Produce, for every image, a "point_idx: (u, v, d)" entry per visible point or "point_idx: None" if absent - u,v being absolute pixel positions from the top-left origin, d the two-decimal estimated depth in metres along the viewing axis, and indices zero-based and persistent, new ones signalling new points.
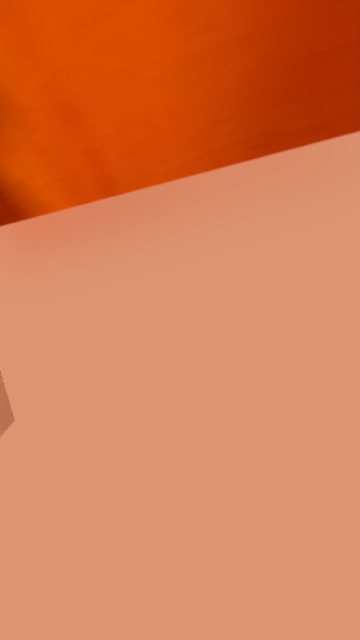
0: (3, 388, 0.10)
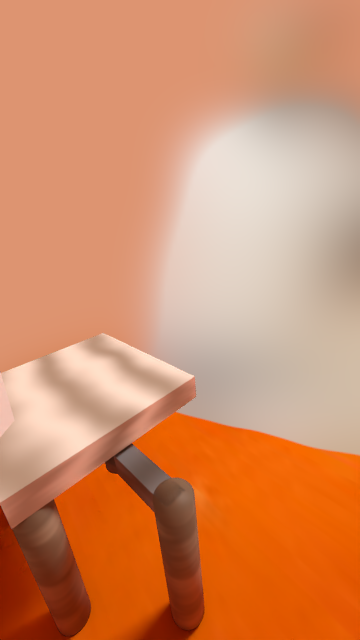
0: (3, 388, 0.10)
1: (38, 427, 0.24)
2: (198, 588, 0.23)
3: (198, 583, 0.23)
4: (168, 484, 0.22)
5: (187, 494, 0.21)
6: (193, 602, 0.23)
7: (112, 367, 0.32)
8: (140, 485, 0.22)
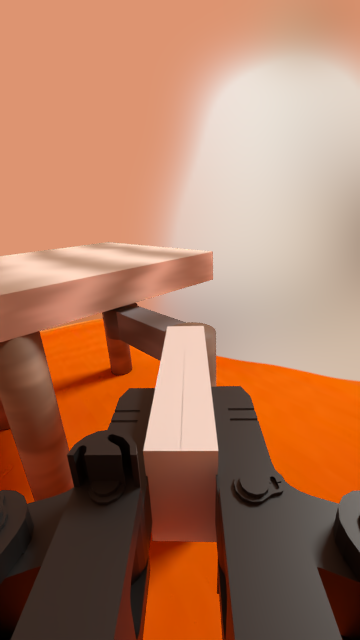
0: None
1: (28, 273, 0.20)
2: None
3: None
4: None
5: (207, 330, 0.17)
6: None
7: (117, 251, 0.28)
8: (148, 331, 0.18)
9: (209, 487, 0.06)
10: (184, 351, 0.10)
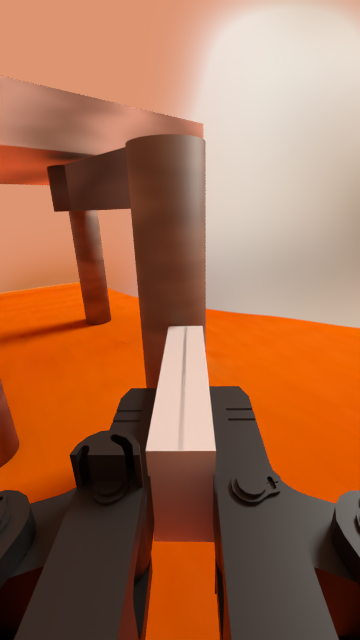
0: None
1: None
2: None
3: None
4: None
5: None
6: None
7: None
8: (105, 166, 0.12)
9: (207, 487, 0.06)
10: (182, 351, 0.10)
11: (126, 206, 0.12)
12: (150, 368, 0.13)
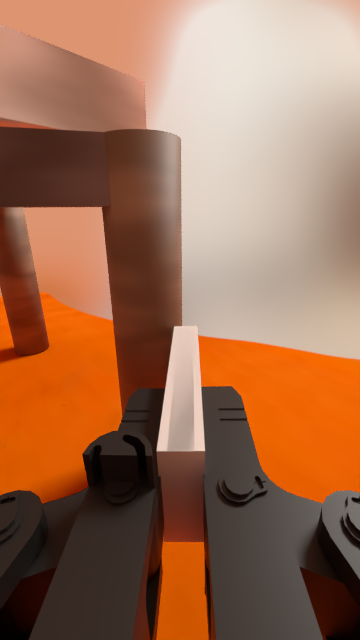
0: None
1: None
2: None
3: None
4: None
5: None
6: None
7: None
8: (51, 147, 0.09)
9: (196, 487, 0.06)
10: (176, 351, 0.10)
11: (99, 204, 0.10)
12: (152, 381, 0.12)
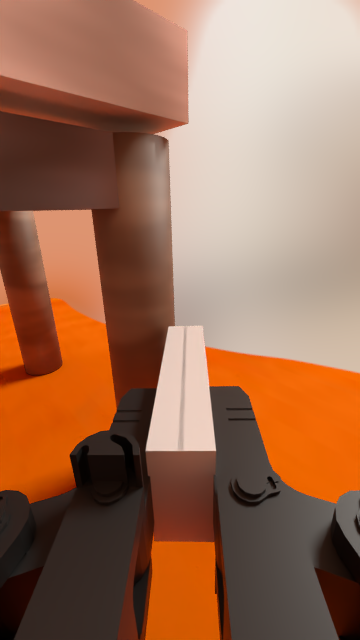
0: None
1: None
2: None
3: None
4: None
5: None
6: None
7: None
8: (64, 143, 0.08)
9: (207, 487, 0.06)
10: (182, 351, 0.10)
11: (109, 206, 0.09)
12: None
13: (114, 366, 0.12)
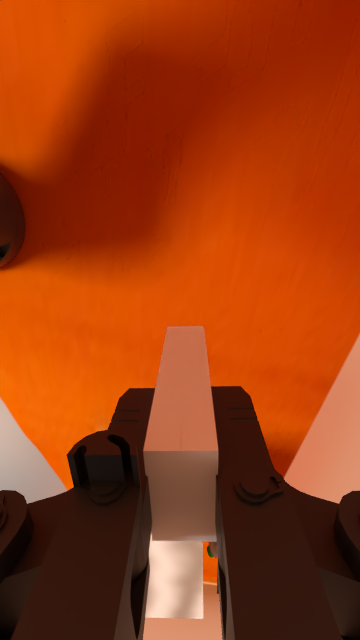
0: None
1: (169, 561, 0.37)
2: None
3: None
4: None
5: None
6: None
7: None
8: None
9: (209, 487, 0.06)
10: (184, 351, 0.10)
11: None
12: None
13: None
